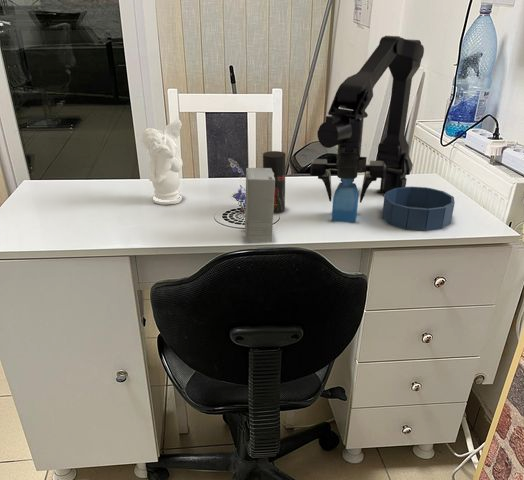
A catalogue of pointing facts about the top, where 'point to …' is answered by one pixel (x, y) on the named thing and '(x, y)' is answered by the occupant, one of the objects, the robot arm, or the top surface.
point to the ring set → (240, 186)
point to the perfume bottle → (345, 201)
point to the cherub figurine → (164, 161)
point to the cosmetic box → (259, 204)
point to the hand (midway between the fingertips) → (345, 201)
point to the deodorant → (277, 177)
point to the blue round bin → (418, 208)
